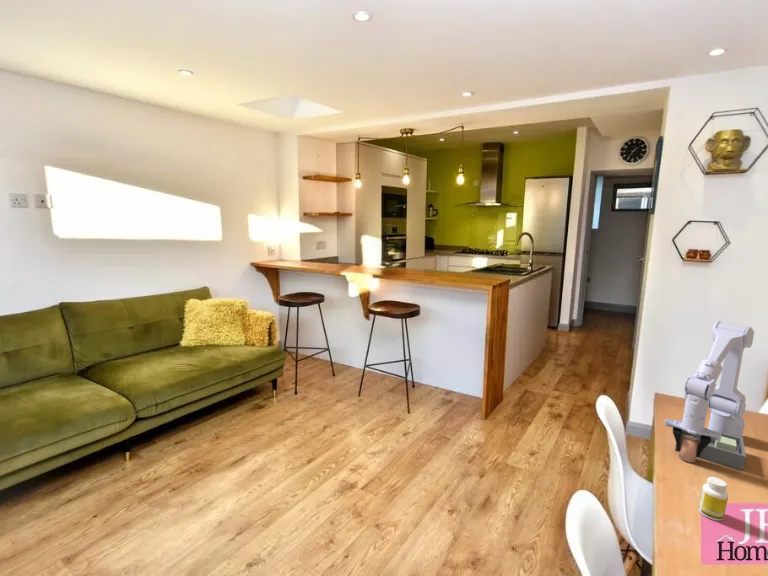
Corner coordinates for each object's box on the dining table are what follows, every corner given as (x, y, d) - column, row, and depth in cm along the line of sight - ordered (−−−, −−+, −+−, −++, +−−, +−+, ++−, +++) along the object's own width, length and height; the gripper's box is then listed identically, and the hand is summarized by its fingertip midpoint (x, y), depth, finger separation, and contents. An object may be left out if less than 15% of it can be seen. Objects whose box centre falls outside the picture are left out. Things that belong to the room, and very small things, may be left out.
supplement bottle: (728, 523, 107) (735, 489, 105) (704, 519, 108) (711, 486, 106) (716, 508, 112) (722, 476, 110) (693, 505, 113) (699, 473, 111)
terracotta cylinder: (688, 454, 137) (692, 435, 135) (699, 462, 132) (702, 442, 131) (674, 453, 137) (678, 434, 135) (684, 462, 132) (688, 442, 131)
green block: (713, 448, 140) (716, 434, 139) (732, 453, 137) (735, 440, 136) (714, 454, 136) (717, 441, 135) (733, 460, 133) (736, 446, 132)
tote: (740, 452, 140) (743, 438, 139) (743, 471, 129) (746, 456, 128) (677, 434, 150) (679, 421, 149) (675, 450, 139) (677, 436, 138)
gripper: (666, 411, 133) (660, 449, 135) (724, 426, 124) (716, 467, 127) (668, 404, 138) (662, 440, 141) (723, 418, 130) (715, 456, 132)
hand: (687, 452), depth 134 cm, fingers closed on terracotta cylinder, 5 cm apart
